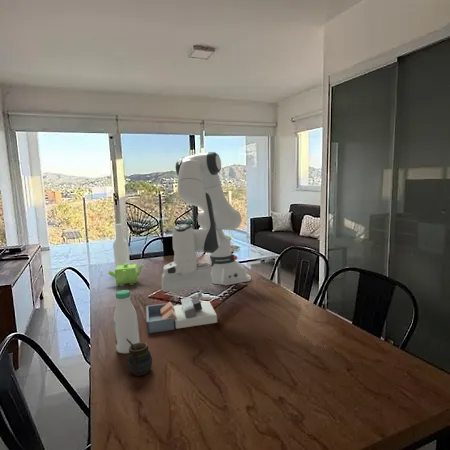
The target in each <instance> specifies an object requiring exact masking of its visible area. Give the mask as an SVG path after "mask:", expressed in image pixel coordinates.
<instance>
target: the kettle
mask: <svg viewBox="0 0 450 450" xmlns="http://www.w3.org/2000/svg"><path fill="white" fill-rule="evenodd" d="M144 266H145V264H140V265H139V267H137V263H133V264H131V263H130V265H128V264H123V265H119V266H117V267H116V269H114V271H112V270H109V271H108V275H110V276H112V277H113V278H115V285H119V287H124V286H125V284H126V285H127V284H129V286H134V285H135V283H138V280H139V279H138V278H139V276H140V274H141V272H142V268H143V267H144Z"/></svg>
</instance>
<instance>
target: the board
mask: <svg viewBox="0 0 450 450" xmlns="http://www.w3.org/2000/svg"><path fill="white" fill-rule="evenodd" d="M200 302H201V306H202V309H201V310H198V311H195V312H196V316H193V317H190V318H187V319H186V316H185V313H184V309H183V306H182V304H178V305H177V304H176V305H173V306H174V309H175V310H174V312H175V313H176V317H177V319H175V320H174V328H175V329H182V328H190V327H195V326H196V327H197V326H202V325H204V326H205V325H210V324H216V323H218V315H217V313H216V311H215V309H214V307H213V305H212V303H211V302H210V300H208V301H200Z"/></svg>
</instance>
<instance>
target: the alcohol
mask: <svg viewBox="0 0 450 450" xmlns="http://www.w3.org/2000/svg"><path fill="white" fill-rule="evenodd" d="M114 225H115V239H114V240H113V244H112V245H113V246H112V248H113V256H114V257H113V258H114V267H115V269H116V267H117V266H119V265H123V264H128V265H130V264H131V262H130V253H129V243H128V241H127V239H126V238H125V236H124V231H123V224H122V223H115V224H114ZM115 269H114V270H115Z"/></svg>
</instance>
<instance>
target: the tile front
mask: <svg viewBox="0 0 450 450" xmlns="http://www.w3.org/2000/svg"><path fill="white" fill-rule="evenodd" d="M167 318H174V320H175V319H177V317H176V313H175V312H174V311H173V310H172V309H171V310H170V311H168V312H167V313H166V314H165V315H163V316H162V319H167Z"/></svg>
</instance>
